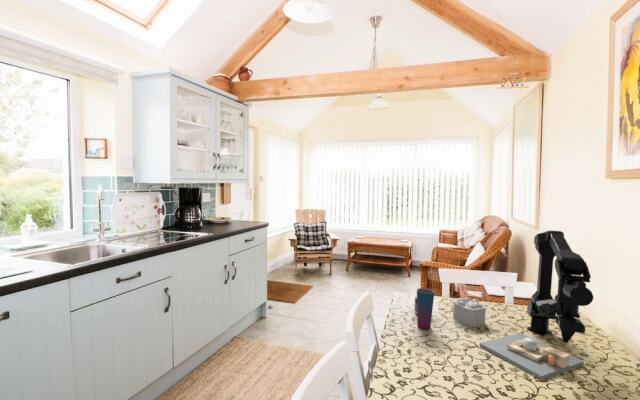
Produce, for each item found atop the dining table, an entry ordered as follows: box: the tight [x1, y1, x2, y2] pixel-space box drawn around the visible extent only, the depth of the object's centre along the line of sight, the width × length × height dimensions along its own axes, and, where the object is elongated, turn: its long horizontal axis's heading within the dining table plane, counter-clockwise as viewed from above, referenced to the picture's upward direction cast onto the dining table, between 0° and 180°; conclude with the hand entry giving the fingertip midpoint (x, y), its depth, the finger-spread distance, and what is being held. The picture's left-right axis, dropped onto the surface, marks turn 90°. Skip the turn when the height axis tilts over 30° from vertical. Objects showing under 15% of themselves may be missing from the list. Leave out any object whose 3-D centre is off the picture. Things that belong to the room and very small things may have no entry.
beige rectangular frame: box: [507, 339, 571, 368], centre depth 112 cm, size 16×10×4 cm, turn 31°
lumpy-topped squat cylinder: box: [452, 297, 487, 328], centre depth 144 cm, size 10×13×9 cm
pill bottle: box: [413, 294, 417, 315], centre depth 150 cm, size 6×6×10 cm
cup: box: [416, 287, 435, 331], centre depth 135 cm, size 7×7×15 cm
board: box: [479, 332, 585, 381], centre depth 115 cm, size 22×22×5 cm
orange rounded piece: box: [548, 355, 555, 367], centre depth 107 cm, size 2×2×3 cm
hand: (565, 342), depth 108 cm, fingers closed
